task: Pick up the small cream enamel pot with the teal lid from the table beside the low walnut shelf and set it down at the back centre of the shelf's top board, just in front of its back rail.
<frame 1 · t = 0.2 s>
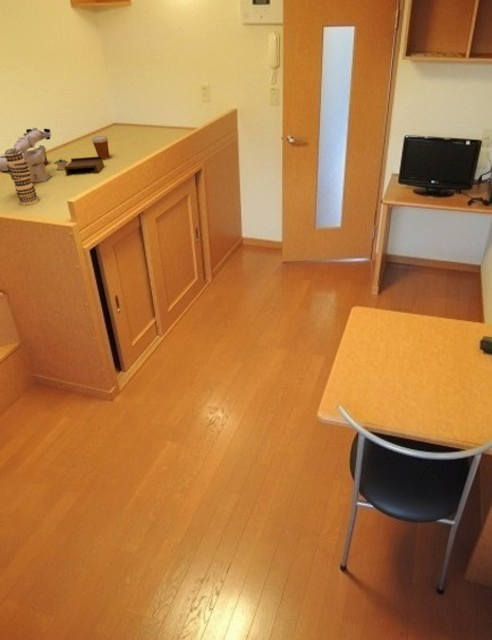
hand: (42, 131, 273), 21 cm above the table, tool horizontal, fingers open, 7 cm apart
shelf: (85, 170, 276), on the table
disposable coffee cup: (104, 158, 296), on the table
leaning tower model: (29, 201, 239), on the table
pot: (62, 168, 284), on the table
food container: (44, 164, 295), on the table
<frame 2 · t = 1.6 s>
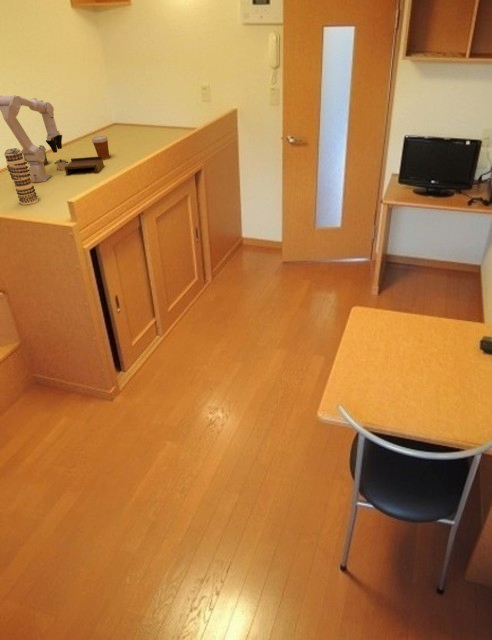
hand: (57, 150, 278), 10 cm above the table, tool pointing down, fingers open, 7 cm apart
nothing on the table moved.
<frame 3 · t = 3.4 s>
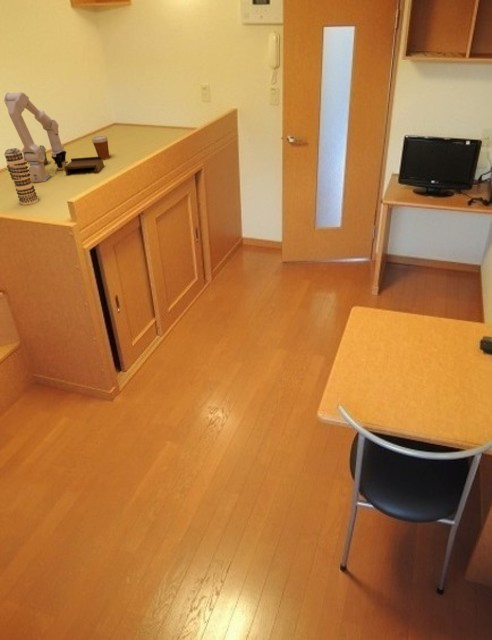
hand: (62, 166, 283), 1 cm above the table, tool pointing down, fingers closed on pot, 5 cm apart
pot: (62, 168, 284), on the table, touching gripper
everything else where it was.
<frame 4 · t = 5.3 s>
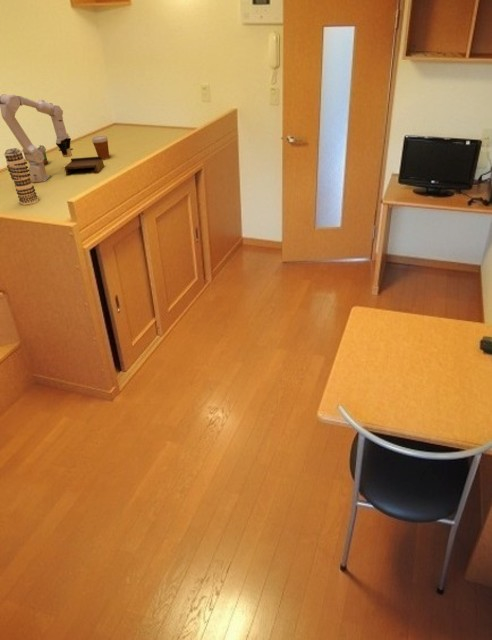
hand: (66, 153, 277), 9 cm above the table, tool pointing down, fingers closed on pot, 5 cm apart
pot: (67, 156, 278), point 7 cm above the table, touching gripper
everything else where it was.
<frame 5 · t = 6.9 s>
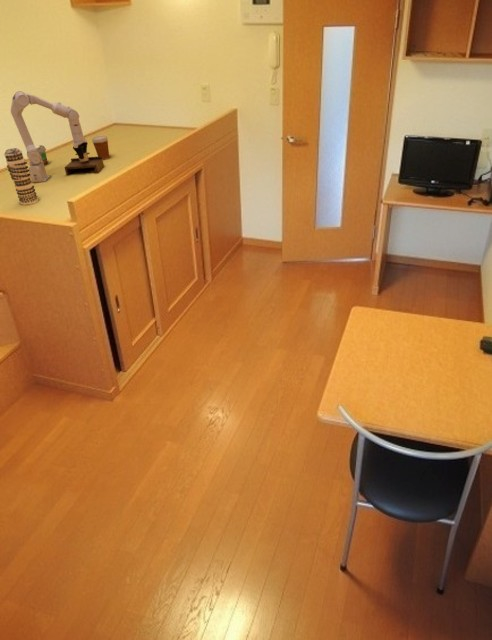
hand: (83, 157, 274), 7 cm above the table, tool pointing down, fingers closed on pot, 5 cm apart
pot: (84, 160, 275), point 5 cm above the table, touching gripper
everything else where it was.
when the fingers open (6 cm above the table, at t = 7.7 s): pot stays where it is, resting on shelf.
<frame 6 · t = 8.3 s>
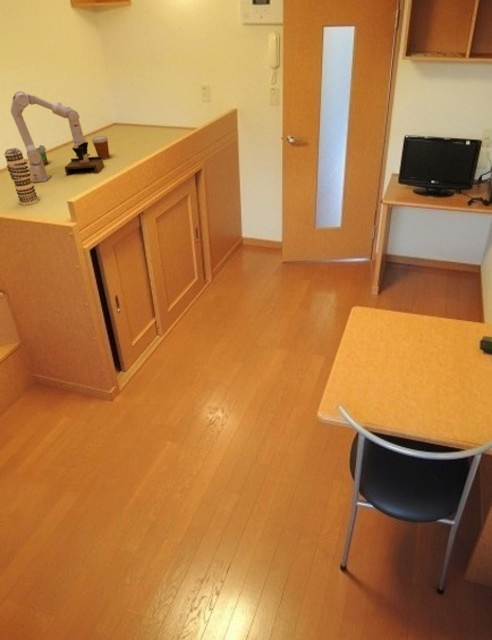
hand: (83, 158, 274), 7 cm above the table, tool pointing down, fingers open, 7 cm apart
pot: (84, 161, 275), point 4 cm above the table, touching shelf
everything else where it was.
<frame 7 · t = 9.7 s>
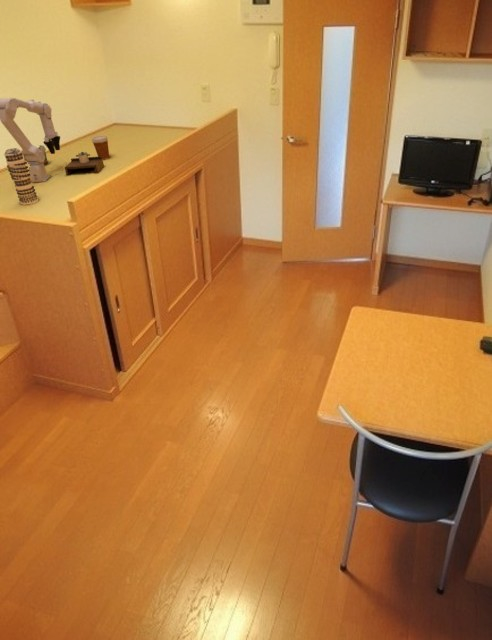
hand: (55, 151, 276), 10 cm above the table, tool pointing down, fingers open, 7 cm apart
nothing on the table moved.
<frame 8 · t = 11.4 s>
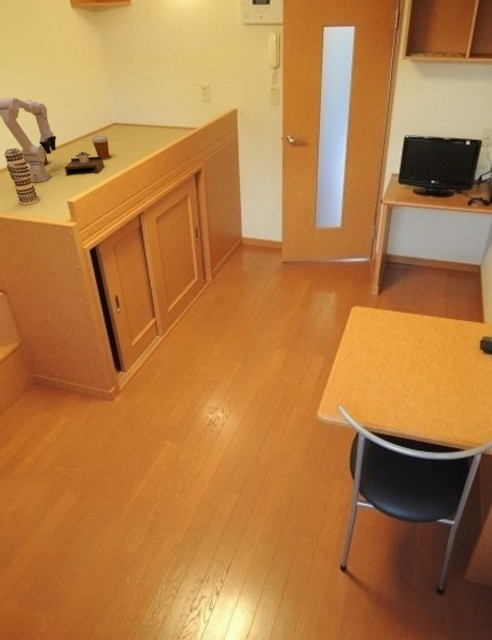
hand: (51, 151, 276), 10 cm above the table, tool pointing down, fingers open, 7 cm apart
nothing on the table moved.
at the end: pot 0.3 cm from the target spot on the shelf, point 4.5 cm above the shelf's base; pot tilted 0°; the gripper is holding nothing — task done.
